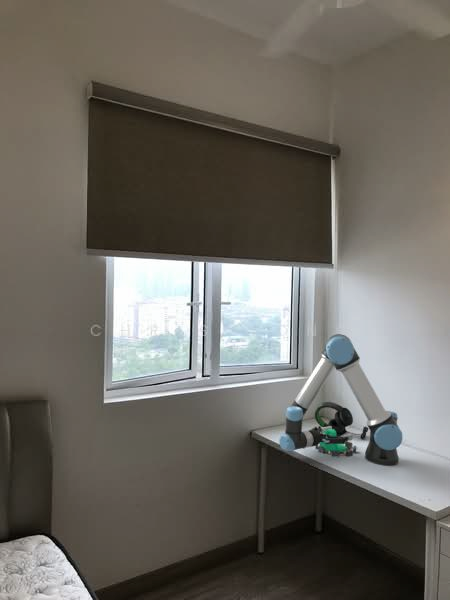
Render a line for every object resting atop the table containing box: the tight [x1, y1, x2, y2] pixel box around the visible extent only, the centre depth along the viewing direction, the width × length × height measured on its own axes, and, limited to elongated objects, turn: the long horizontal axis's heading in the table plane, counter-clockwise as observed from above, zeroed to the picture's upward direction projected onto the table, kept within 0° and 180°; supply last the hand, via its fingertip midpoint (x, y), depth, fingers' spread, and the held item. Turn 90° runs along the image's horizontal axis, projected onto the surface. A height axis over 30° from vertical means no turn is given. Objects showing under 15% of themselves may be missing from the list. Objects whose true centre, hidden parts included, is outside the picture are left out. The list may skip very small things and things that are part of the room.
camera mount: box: [319, 429, 347, 453], centre depth 235 cm, size 12×8×10 cm, turn 28°
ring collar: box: [314, 441, 357, 458], centre depth 236 cm, size 19×19×2 cm
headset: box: [314, 401, 369, 440], centre depth 259 cm, size 18×14×29 cm
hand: (341, 432), depth 238 cm, fingers open, 13 cm apart
